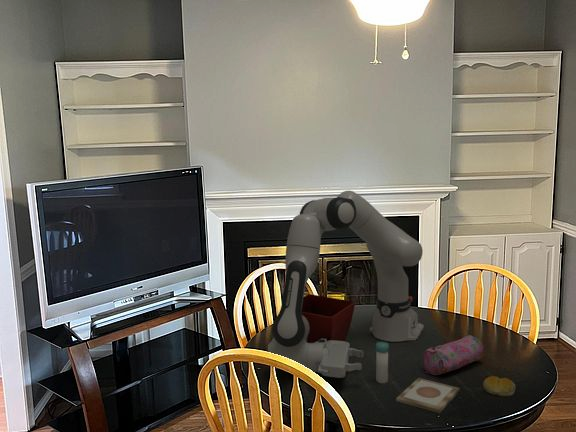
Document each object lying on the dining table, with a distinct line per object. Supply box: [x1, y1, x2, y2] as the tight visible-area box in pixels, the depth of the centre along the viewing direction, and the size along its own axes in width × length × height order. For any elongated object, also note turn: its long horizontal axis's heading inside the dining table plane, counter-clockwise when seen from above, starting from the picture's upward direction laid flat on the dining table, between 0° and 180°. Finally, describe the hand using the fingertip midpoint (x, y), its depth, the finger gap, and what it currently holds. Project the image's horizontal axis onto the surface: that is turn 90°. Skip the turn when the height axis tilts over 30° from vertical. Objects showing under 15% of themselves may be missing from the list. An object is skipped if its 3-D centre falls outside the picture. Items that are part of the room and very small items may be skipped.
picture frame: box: [395, 377, 461, 414], centre depth 178 cm, size 16×13×1 cm
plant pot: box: [301, 293, 356, 343], centre depth 212 cm, size 19×19×17 cm
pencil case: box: [423, 334, 484, 376], centre depth 197 cm, size 21×9×9 cm, turn 123°
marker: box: [375, 341, 390, 384], centre depth 188 cm, size 4×4×12 cm
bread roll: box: [482, 375, 517, 397], centre depth 181 cm, size 8×9×4 cm
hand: (362, 360), depth 189 cm, fingers open, 8 cm apart
